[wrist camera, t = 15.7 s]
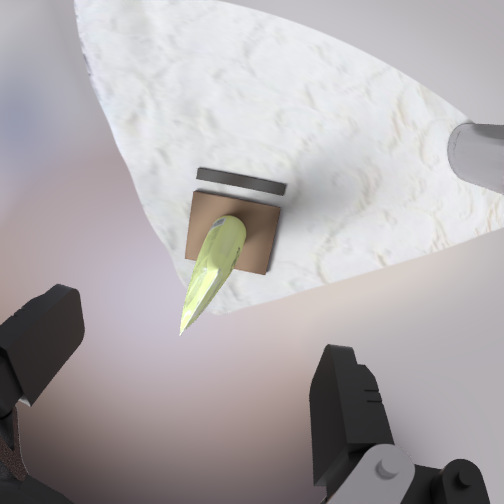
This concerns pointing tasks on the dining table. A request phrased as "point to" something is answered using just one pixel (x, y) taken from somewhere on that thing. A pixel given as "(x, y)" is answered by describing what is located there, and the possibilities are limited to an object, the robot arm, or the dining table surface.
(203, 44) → the dining table surface
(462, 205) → the dining table surface
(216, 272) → the tube
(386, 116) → the dining table surface
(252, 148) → the dining table surface
